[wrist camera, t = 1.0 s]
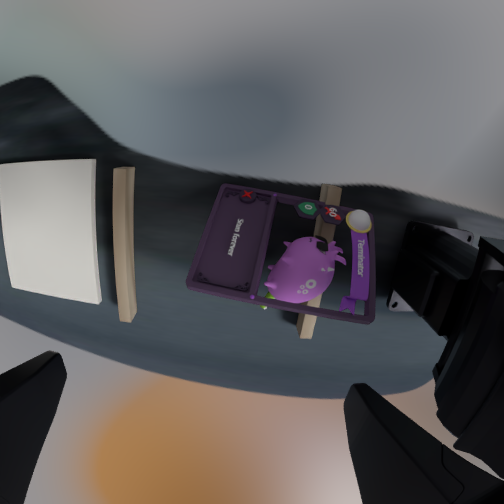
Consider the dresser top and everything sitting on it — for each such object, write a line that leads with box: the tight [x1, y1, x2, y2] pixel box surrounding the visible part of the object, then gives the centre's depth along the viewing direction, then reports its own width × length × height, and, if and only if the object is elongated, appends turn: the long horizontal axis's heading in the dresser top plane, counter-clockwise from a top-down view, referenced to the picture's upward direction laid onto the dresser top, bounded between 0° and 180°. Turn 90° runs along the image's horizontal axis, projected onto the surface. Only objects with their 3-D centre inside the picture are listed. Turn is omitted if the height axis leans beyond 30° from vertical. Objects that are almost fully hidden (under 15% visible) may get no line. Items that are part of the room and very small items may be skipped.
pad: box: [0, 159, 102, 304], centre depth 17 cm, size 9×10×1 cm
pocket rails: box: [113, 167, 342, 338], centre depth 18 cm, size 13×10×2 cm
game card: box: [186, 183, 376, 324], centre depth 16 cm, size 7×5×9 cm
